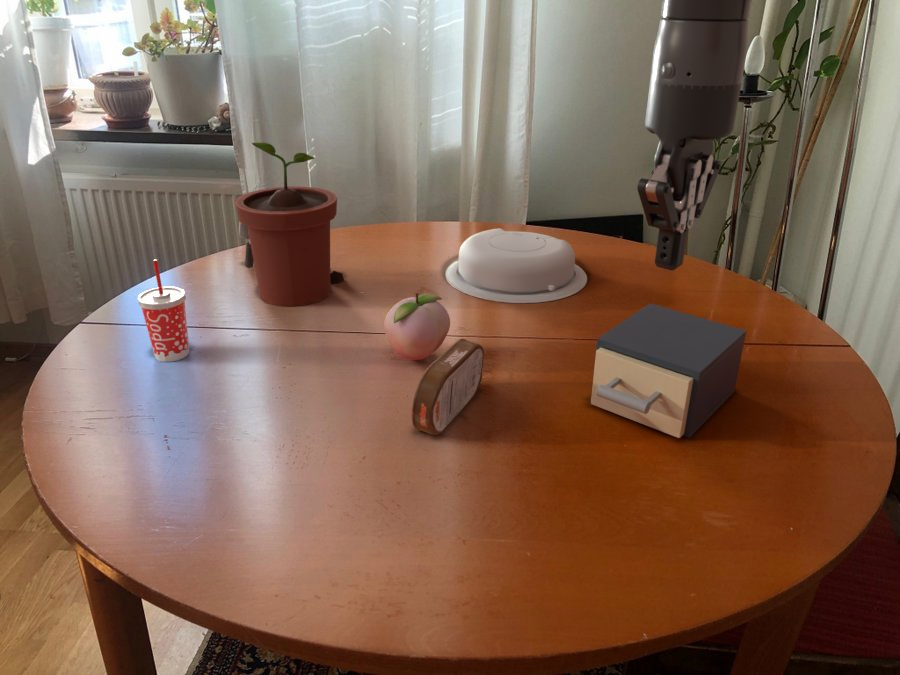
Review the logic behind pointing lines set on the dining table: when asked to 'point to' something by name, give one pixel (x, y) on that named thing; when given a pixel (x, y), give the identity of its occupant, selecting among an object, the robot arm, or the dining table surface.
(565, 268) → the round ceiling alarm
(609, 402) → the drawer
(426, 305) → the decorative fruit
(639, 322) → the cabinet
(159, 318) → the beverage cup
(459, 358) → the tin
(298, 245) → the potted plant
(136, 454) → the dining table surface
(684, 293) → the dining table surface
